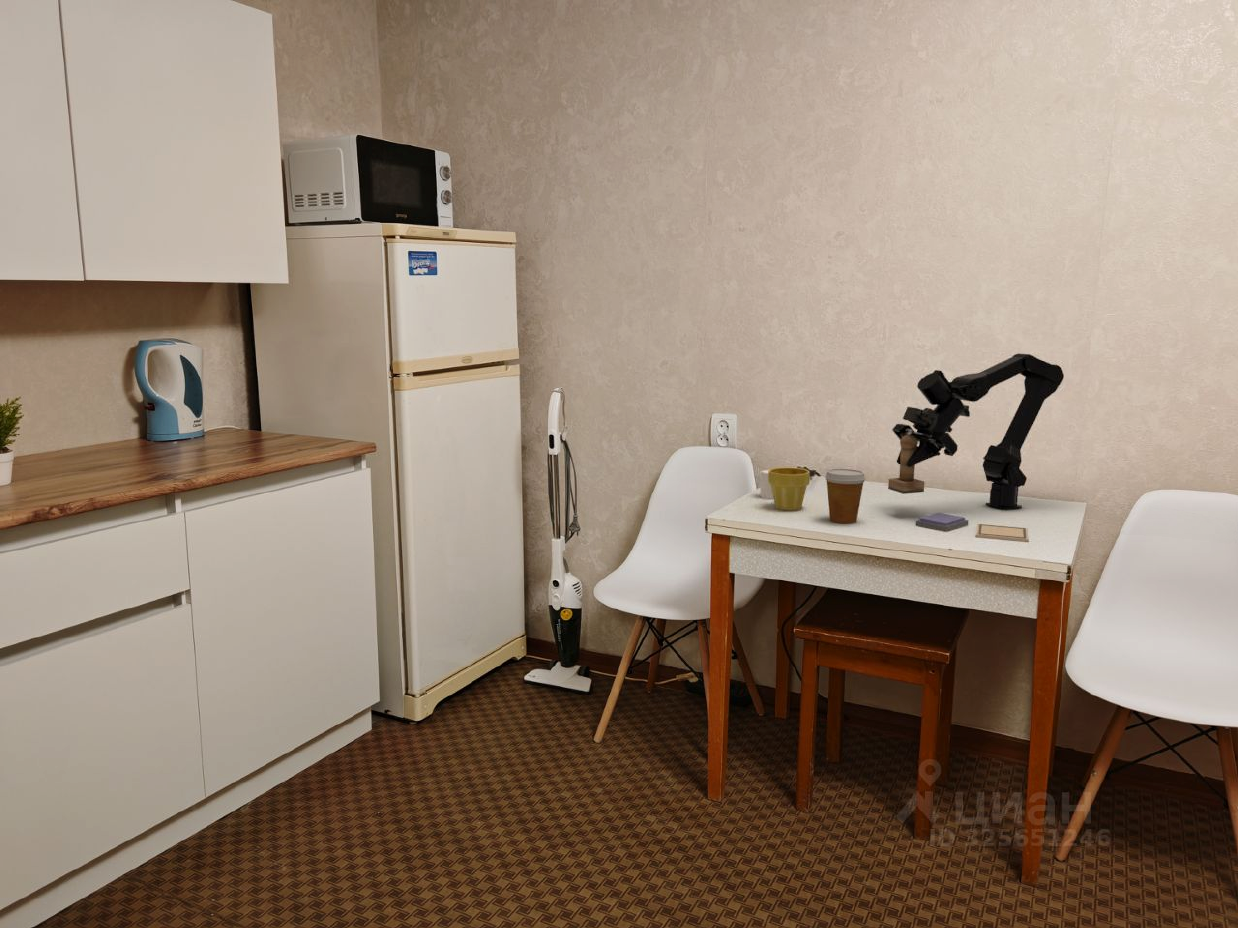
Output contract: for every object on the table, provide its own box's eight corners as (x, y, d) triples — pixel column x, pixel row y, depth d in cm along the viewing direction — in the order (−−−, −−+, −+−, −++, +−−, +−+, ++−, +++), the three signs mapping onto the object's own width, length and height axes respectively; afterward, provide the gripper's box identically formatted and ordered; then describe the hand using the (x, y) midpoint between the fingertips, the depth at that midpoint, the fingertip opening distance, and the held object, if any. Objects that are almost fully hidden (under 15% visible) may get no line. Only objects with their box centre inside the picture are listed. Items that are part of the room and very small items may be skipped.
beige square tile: (977, 526, 222) (977, 523, 222) (1027, 530, 218) (1027, 527, 218) (975, 536, 212) (975, 533, 212) (1028, 541, 208) (1028, 538, 207)
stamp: (908, 487, 234) (911, 432, 232) (923, 492, 229) (927, 435, 226) (888, 489, 232) (891, 433, 230) (903, 493, 227) (906, 436, 224)
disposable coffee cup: (870, 523, 223) (873, 474, 221) (835, 526, 221) (837, 476, 219) (850, 515, 232) (852, 467, 230) (815, 517, 230) (817, 469, 228)
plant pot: (763, 510, 237) (764, 472, 235) (771, 502, 246) (772, 465, 245) (804, 513, 233) (806, 475, 232) (811, 505, 243) (812, 468, 241)
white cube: (768, 500, 249) (769, 474, 247) (753, 495, 255) (754, 470, 253) (789, 498, 252) (790, 472, 251) (773, 493, 258) (774, 468, 257)
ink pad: (937, 519, 229) (937, 511, 228) (968, 524, 223) (968, 517, 223) (915, 525, 222) (915, 517, 222) (946, 531, 216) (946, 524, 216)
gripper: (900, 391, 236) (861, 437, 234) (950, 399, 219) (909, 448, 217) (924, 421, 241) (886, 466, 239) (975, 431, 223) (934, 479, 221)
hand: (902, 464), depth 229 cm, fingers closed on stamp, 3 cm apart
